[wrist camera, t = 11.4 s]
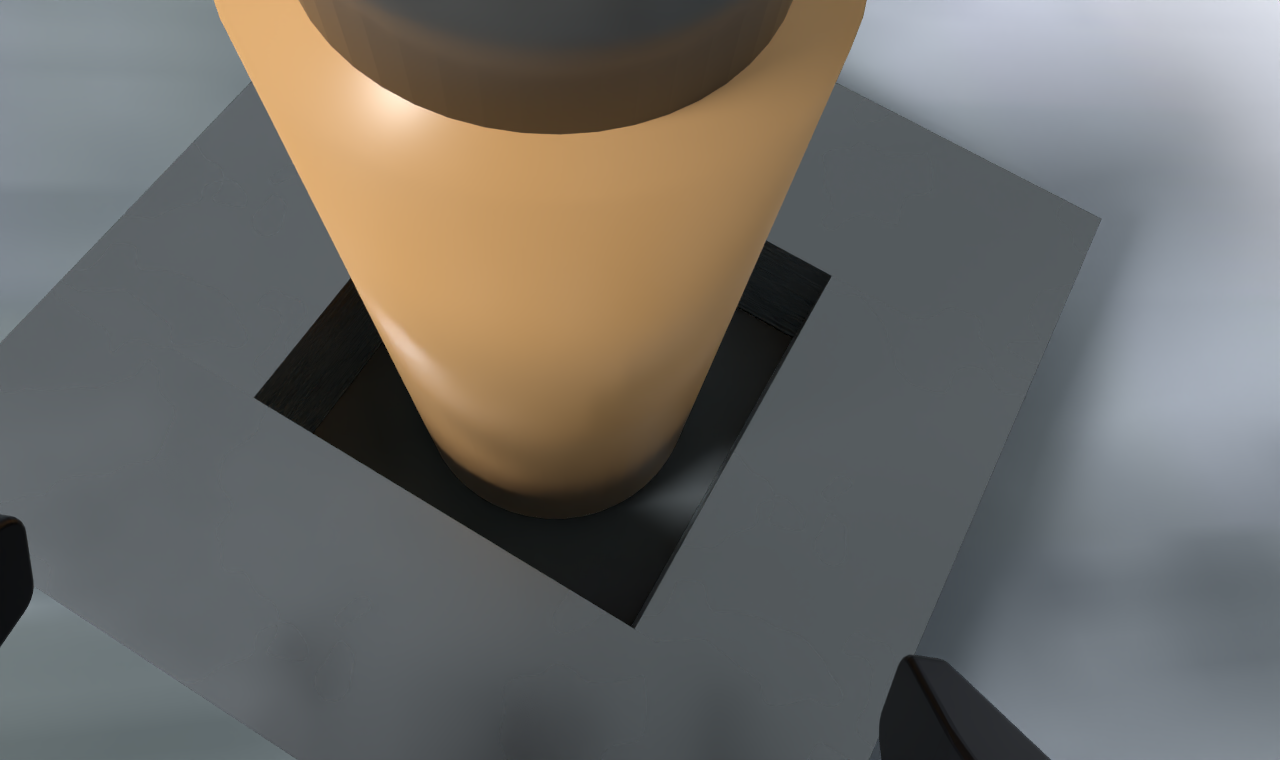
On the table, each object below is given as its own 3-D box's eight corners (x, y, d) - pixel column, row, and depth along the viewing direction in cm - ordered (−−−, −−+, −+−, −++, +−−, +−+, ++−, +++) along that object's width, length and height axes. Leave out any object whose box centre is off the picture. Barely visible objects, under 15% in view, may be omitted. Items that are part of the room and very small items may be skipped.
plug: (732, 448, 18) (1376, -503, 4) (489, 566, 17) (70, -184, 3) (616, 237, 20) (758, -1016, 5) (384, 331, 19) (-248, -970, 4)
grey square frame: (1027, 285, 20) (1101, 219, 18) (709, 987, 15) (743, 1052, 12) (458, -15, 22) (443, -119, 19) (-14, 516, 17) (-131, 478, 14)
